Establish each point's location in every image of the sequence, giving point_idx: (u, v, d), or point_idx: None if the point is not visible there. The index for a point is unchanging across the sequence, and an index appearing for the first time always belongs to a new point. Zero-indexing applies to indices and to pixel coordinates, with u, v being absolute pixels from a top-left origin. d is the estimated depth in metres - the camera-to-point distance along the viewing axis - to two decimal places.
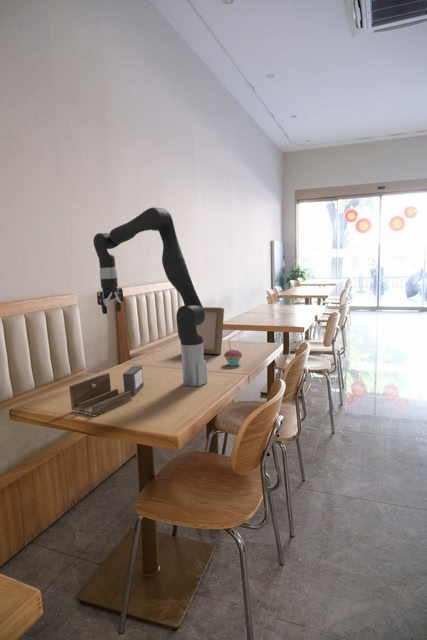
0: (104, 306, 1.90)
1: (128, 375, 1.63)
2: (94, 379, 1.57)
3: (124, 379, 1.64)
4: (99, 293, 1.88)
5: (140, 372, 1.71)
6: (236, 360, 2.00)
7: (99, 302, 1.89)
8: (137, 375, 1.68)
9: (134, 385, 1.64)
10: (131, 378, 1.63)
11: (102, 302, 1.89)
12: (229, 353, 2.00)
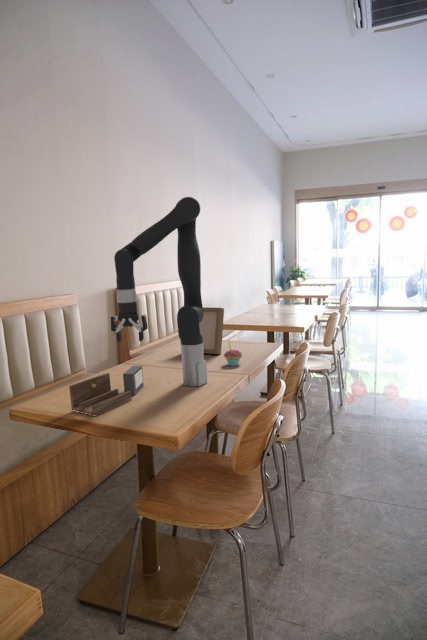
0: None
1: (128, 375, 1.63)
2: (94, 379, 1.57)
3: (124, 379, 1.64)
4: (145, 316, 1.65)
5: (140, 372, 1.71)
6: (236, 360, 2.00)
7: (145, 327, 1.65)
8: (137, 375, 1.68)
9: (134, 385, 1.64)
10: (131, 378, 1.63)
11: None
12: (229, 353, 2.00)
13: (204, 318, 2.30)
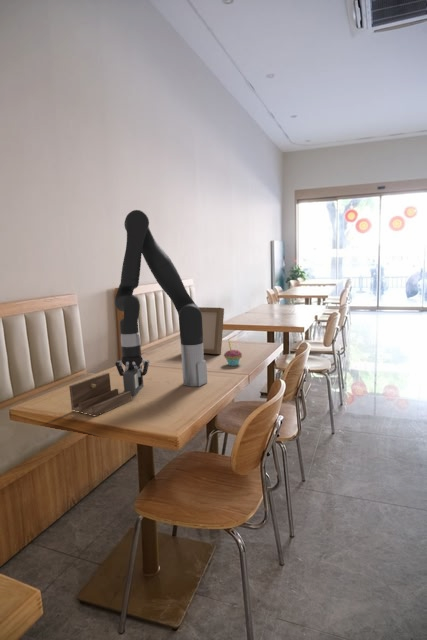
0: None
1: (128, 375, 1.63)
2: (94, 379, 1.57)
3: (124, 379, 1.64)
4: (148, 362, 1.68)
5: None
6: (236, 360, 2.00)
7: None
8: (137, 375, 1.68)
9: (134, 385, 1.65)
10: (131, 378, 1.63)
11: None
12: (229, 353, 2.00)
13: (204, 318, 2.30)
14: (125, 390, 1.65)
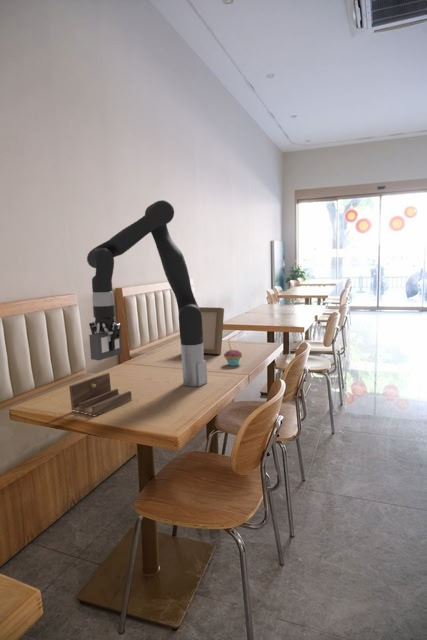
0: None
1: (93, 337, 1.50)
2: (94, 379, 1.57)
3: (90, 341, 1.51)
4: (119, 326, 1.51)
5: None
6: (236, 360, 2.00)
7: (115, 336, 1.52)
8: (107, 338, 1.53)
9: (100, 348, 1.50)
10: (96, 340, 1.49)
11: None
12: (229, 353, 2.00)
13: (204, 318, 2.30)
14: (91, 353, 1.51)
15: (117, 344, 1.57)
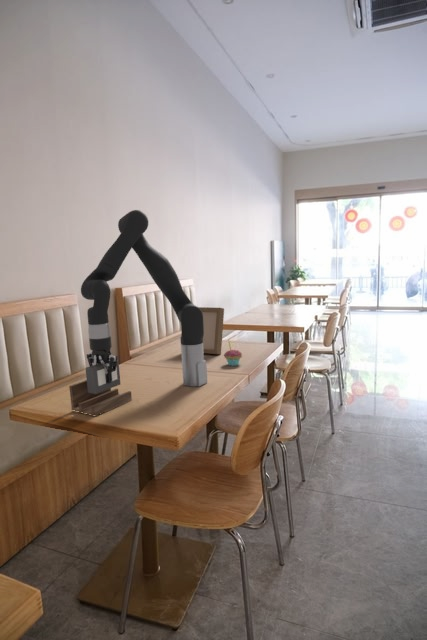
0: None
1: (89, 370, 1.47)
2: None
3: (86, 374, 1.48)
4: (115, 359, 1.48)
5: None
6: (236, 360, 2.00)
7: (112, 369, 1.49)
8: (104, 371, 1.49)
9: (96, 382, 1.47)
10: (92, 373, 1.46)
11: None
12: (229, 353, 2.00)
13: (204, 318, 2.30)
14: (88, 386, 1.49)
15: (115, 375, 1.54)
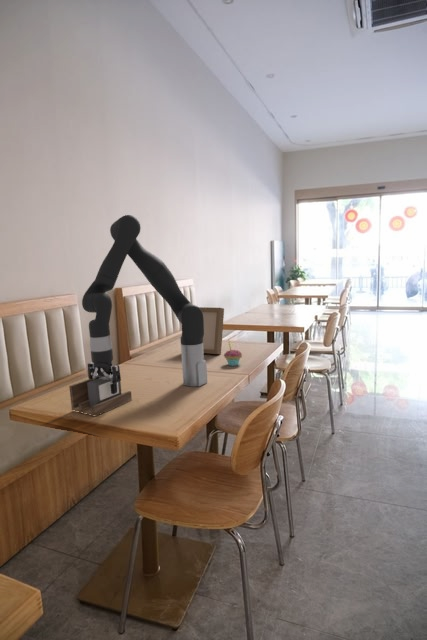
0: None
1: (91, 385, 1.47)
2: None
3: (88, 388, 1.49)
4: (117, 367, 1.48)
5: None
6: (236, 360, 2.00)
7: (117, 379, 1.48)
8: (105, 385, 1.50)
9: (97, 396, 1.48)
10: (94, 388, 1.47)
11: None
12: (229, 353, 2.00)
13: (204, 318, 2.30)
14: (89, 401, 1.49)
15: None
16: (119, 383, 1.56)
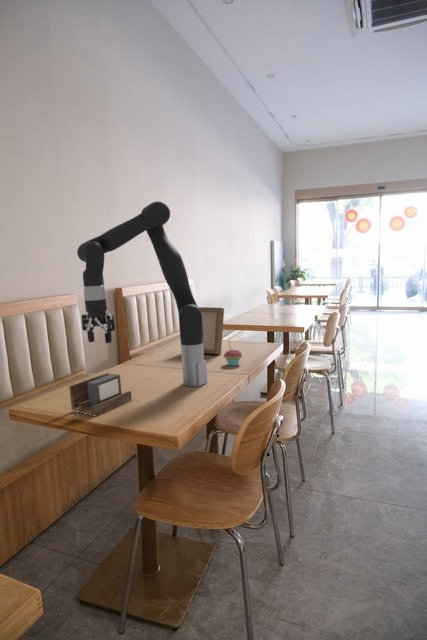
0: None
1: (91, 385, 1.47)
2: (94, 379, 1.57)
3: (88, 388, 1.49)
4: (111, 316, 1.49)
5: (113, 382, 1.54)
6: (236, 360, 2.00)
7: (111, 328, 1.50)
8: (105, 385, 1.50)
9: (97, 396, 1.48)
10: (94, 388, 1.47)
11: None
12: (229, 353, 2.00)
13: (204, 318, 2.30)
14: (89, 401, 1.49)
15: (116, 390, 1.55)
16: (119, 383, 1.56)
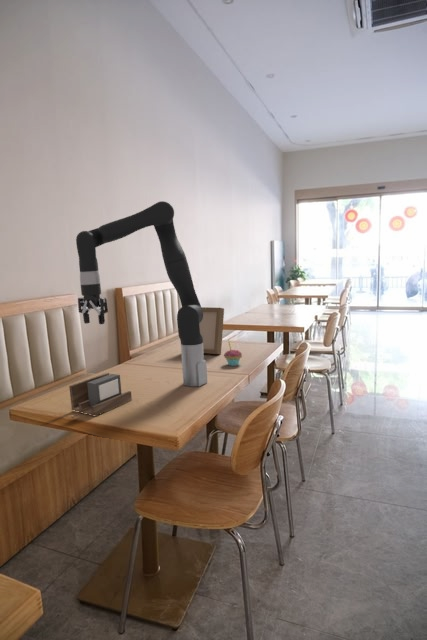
0: (103, 315, 1.66)
1: (91, 385, 1.47)
2: (94, 379, 1.57)
3: (88, 388, 1.49)
4: (104, 299, 1.63)
5: (113, 382, 1.54)
6: (236, 360, 2.00)
7: (104, 310, 1.64)
8: (105, 385, 1.50)
9: (97, 396, 1.48)
10: (94, 388, 1.47)
11: None
12: (229, 353, 2.00)
13: (204, 318, 2.30)
14: (89, 401, 1.49)
15: (116, 390, 1.55)
16: (119, 383, 1.56)
